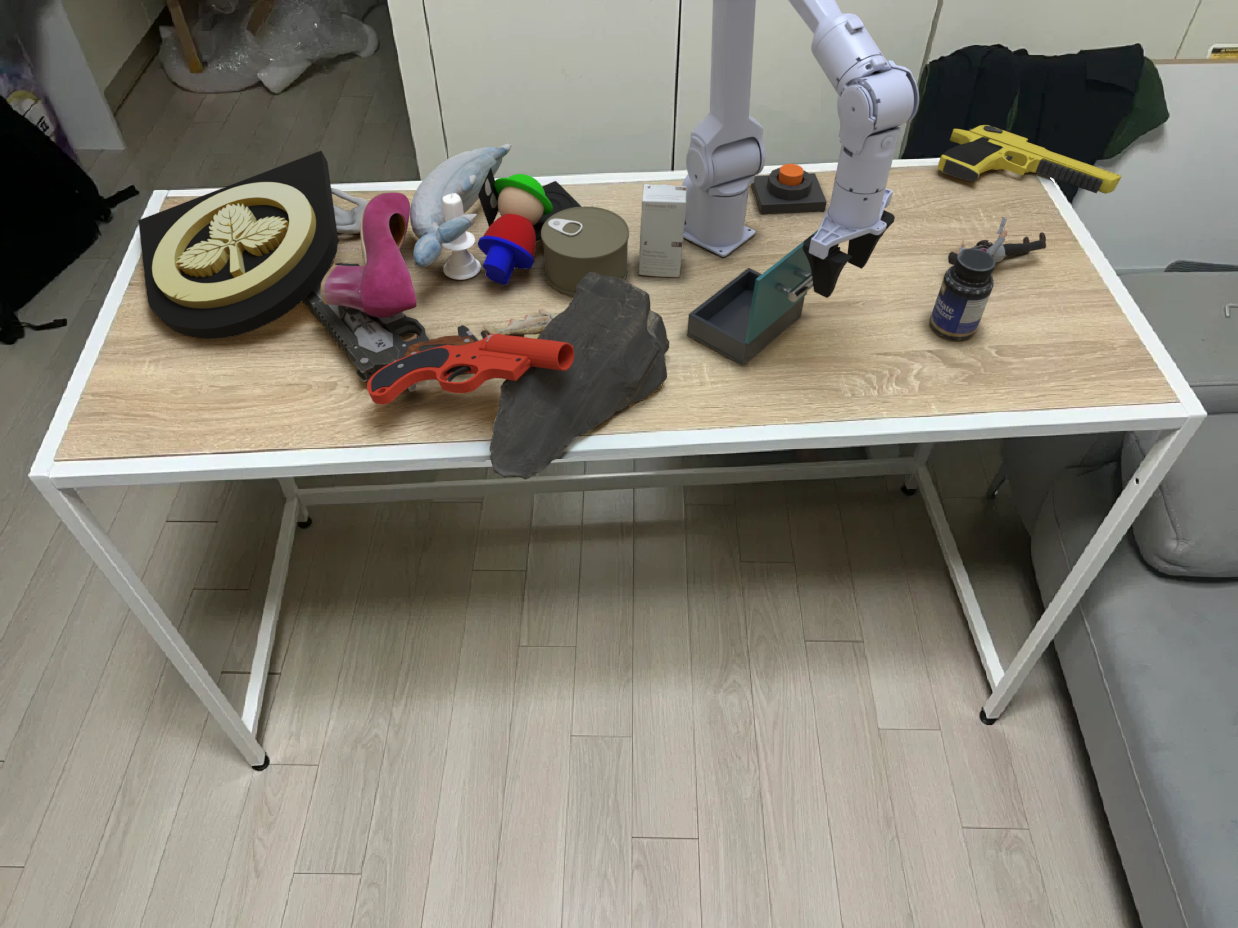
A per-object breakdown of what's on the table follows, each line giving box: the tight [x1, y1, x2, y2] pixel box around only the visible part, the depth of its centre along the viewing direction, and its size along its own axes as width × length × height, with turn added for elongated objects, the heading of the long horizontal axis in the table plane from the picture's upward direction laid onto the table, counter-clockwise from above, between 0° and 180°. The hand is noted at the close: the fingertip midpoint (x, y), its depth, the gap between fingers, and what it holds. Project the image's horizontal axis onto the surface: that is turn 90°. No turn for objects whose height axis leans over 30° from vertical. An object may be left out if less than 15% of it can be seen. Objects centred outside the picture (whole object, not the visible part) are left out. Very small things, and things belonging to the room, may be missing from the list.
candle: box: [442, 193, 482, 281], centre depth 128 cm, size 5×5×12 cm
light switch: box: [533, 180, 583, 243], centre depth 137 cm, size 10×4×10 cm
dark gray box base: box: [686, 267, 806, 367], centre depth 123 cm, size 9×13×4 cm
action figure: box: [947, 216, 1047, 266], centre depth 131 cm, size 9×7×15 cm
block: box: [750, 167, 828, 215], centre depth 143 cm, size 10×8×4 cm
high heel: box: [321, 191, 417, 318], centre depth 124 cm, size 26×9×12 cm
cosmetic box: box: [638, 183, 687, 278], centre depth 128 cm, size 6×4×12 cm
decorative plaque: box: [137, 150, 339, 340], centre depth 128 cm, size 28×4×30 cm
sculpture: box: [409, 143, 513, 268], centre depth 130 cm, size 18×8×25 cm
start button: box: [778, 163, 805, 186], centre depth 141 cm, size 4×4×2 cm
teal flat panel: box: [745, 229, 819, 344], centre depth 115 cm, size 10×13×4 cm
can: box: [541, 205, 630, 298], centre depth 130 cm, size 12×12×7 cm
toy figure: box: [477, 168, 553, 286], centre depth 129 cm, size 9×10×15 cm
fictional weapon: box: [301, 262, 480, 392], centre depth 123 cm, size 28×4×15 cm
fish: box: [482, 308, 561, 339], centre depth 123 cm, size 12×2×5 cm
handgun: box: [937, 124, 1122, 195], centre depth 147 cm, size 4×26×15 cm
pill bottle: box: [929, 247, 996, 342], centre depth 120 cm, size 6×6×11 cm
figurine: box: [331, 187, 369, 235], centre depth 137 cm, size 10×6×20 cm
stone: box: [489, 272, 670, 480], centre depth 112 cm, size 16×12×30 cm
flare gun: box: [366, 330, 574, 406], centre depth 108 cm, size 3×23×15 cm
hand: (839, 278), depth 114 cm, fingers open, 7 cm apart
